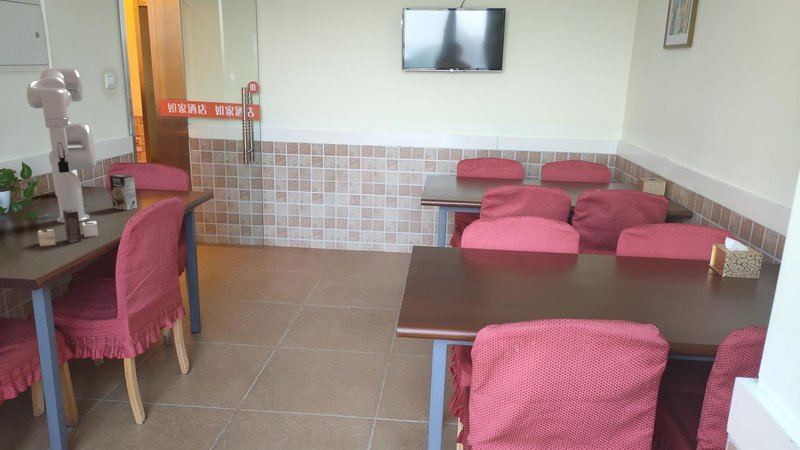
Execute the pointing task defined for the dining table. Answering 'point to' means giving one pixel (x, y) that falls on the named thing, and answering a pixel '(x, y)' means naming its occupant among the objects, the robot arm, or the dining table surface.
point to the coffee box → (123, 191)
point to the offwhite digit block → (90, 229)
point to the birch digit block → (46, 237)
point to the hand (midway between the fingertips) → (64, 171)
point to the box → (72, 225)
